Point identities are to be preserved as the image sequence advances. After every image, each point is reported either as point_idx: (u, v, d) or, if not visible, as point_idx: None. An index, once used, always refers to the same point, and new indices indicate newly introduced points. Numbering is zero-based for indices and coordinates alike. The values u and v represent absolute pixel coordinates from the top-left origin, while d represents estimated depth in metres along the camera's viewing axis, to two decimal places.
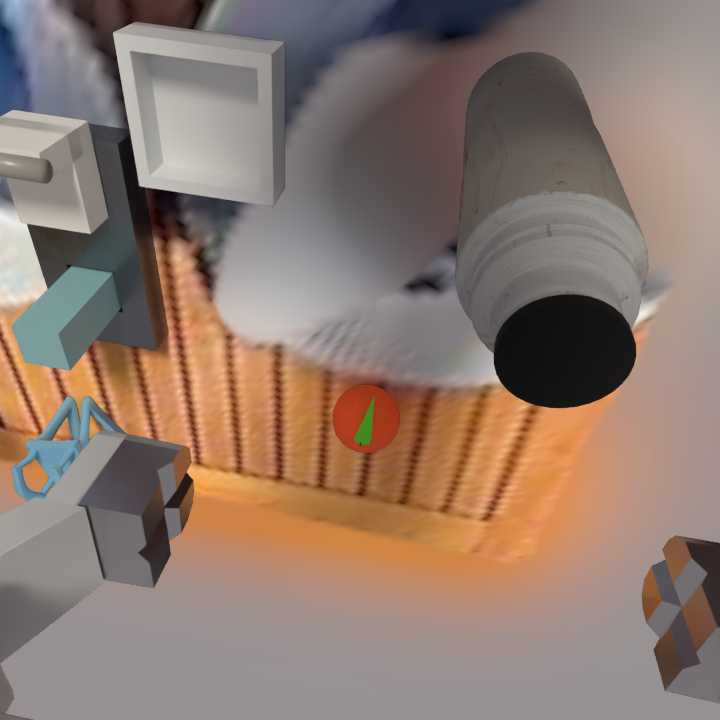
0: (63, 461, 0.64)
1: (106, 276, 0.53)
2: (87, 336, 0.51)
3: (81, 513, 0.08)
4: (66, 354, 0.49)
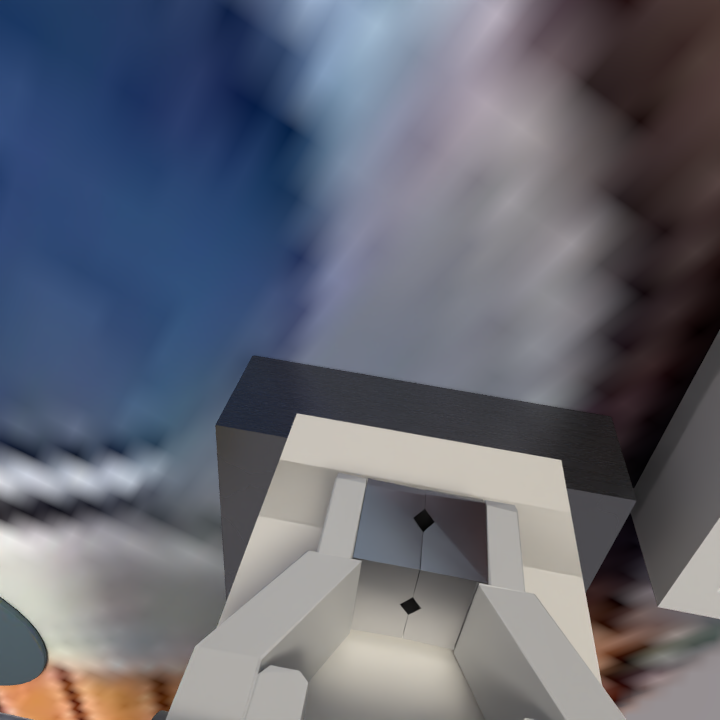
0: None
1: None
2: None
3: (356, 566, 0.08)
4: None
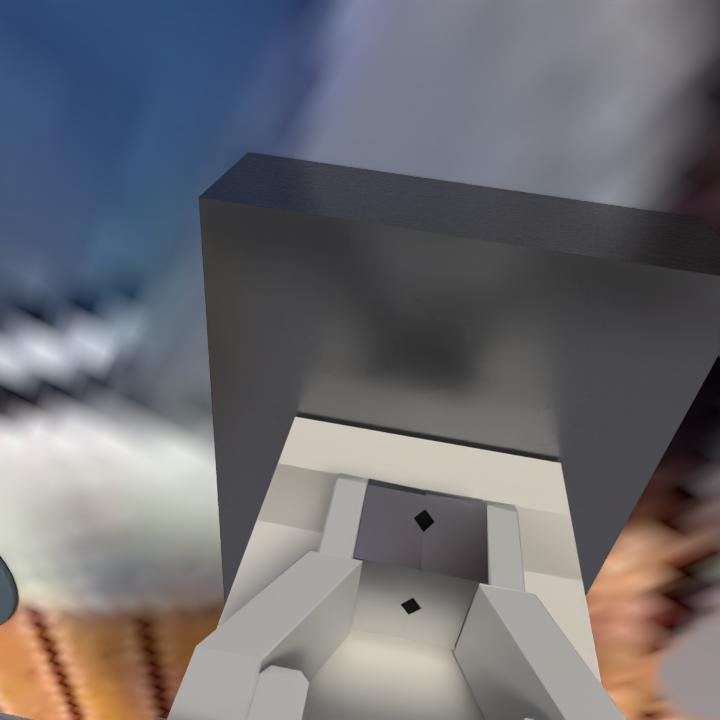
0: None
1: None
2: None
3: (357, 566, 0.08)
4: None
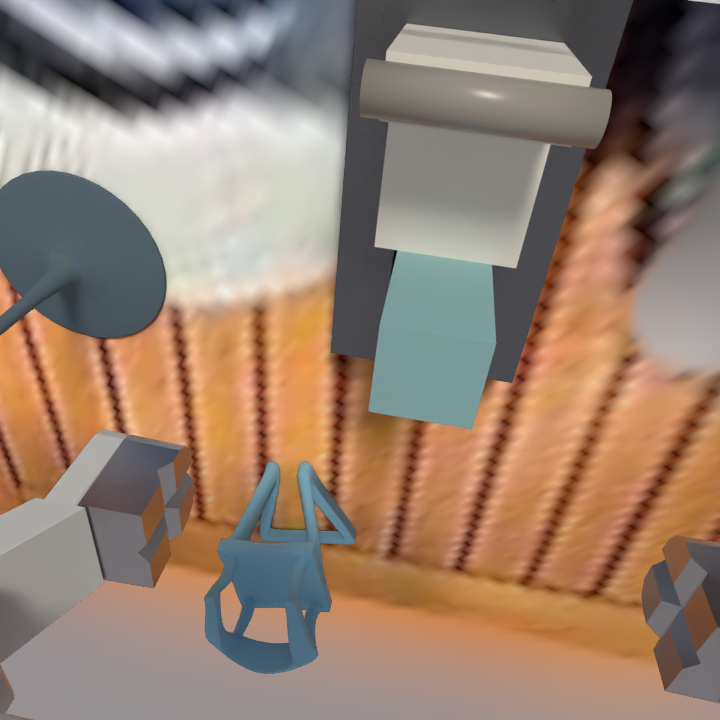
0: (298, 583, 0.36)
1: None
2: None
3: (81, 513, 0.08)
4: (481, 392, 0.21)
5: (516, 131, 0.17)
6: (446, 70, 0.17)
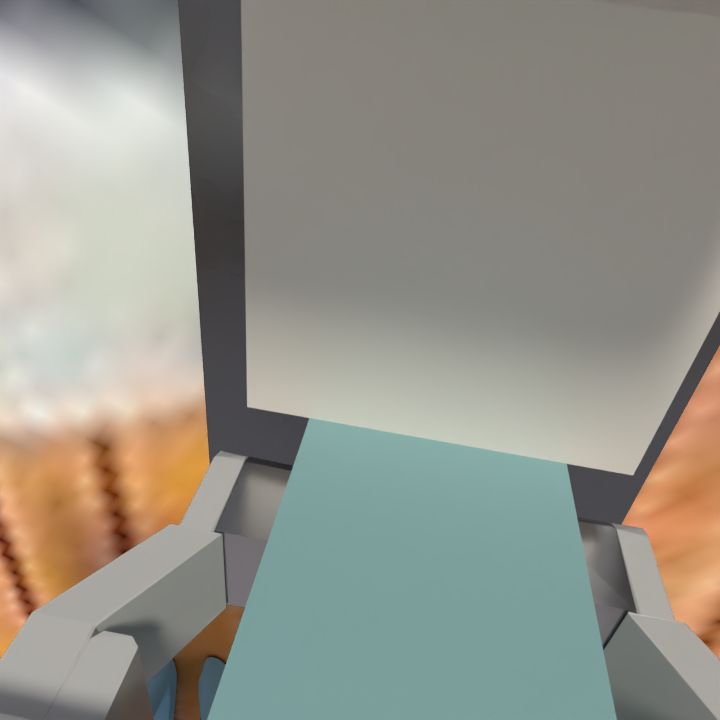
0: None
1: None
2: None
3: (218, 539, 0.08)
4: None
5: None
6: None
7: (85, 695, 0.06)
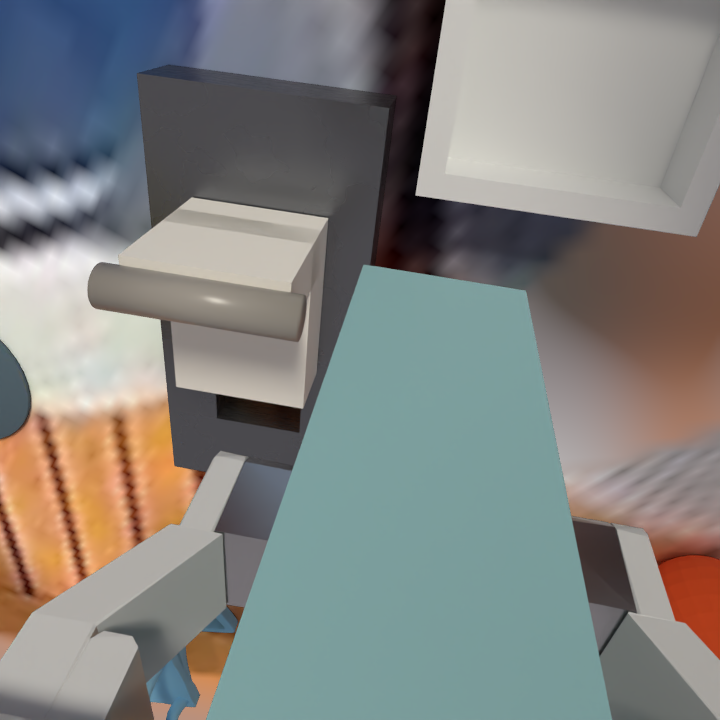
0: (151, 684, 0.37)
1: (527, 367, 0.11)
2: None
3: (218, 539, 0.08)
4: None
5: (226, 328, 0.19)
6: (163, 276, 0.19)
7: (85, 695, 0.06)
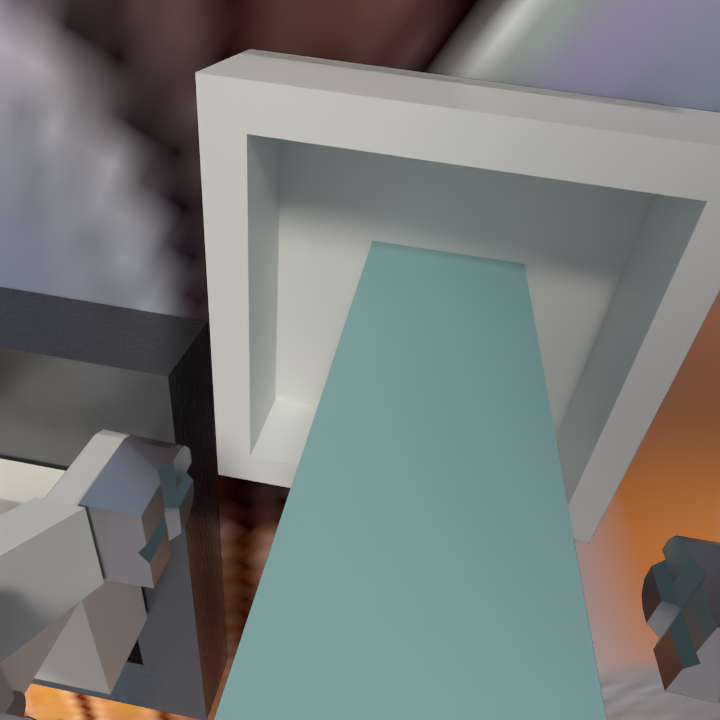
0: None
1: (525, 332, 0.12)
2: None
3: (81, 513, 0.08)
4: None
5: None
6: None
7: None
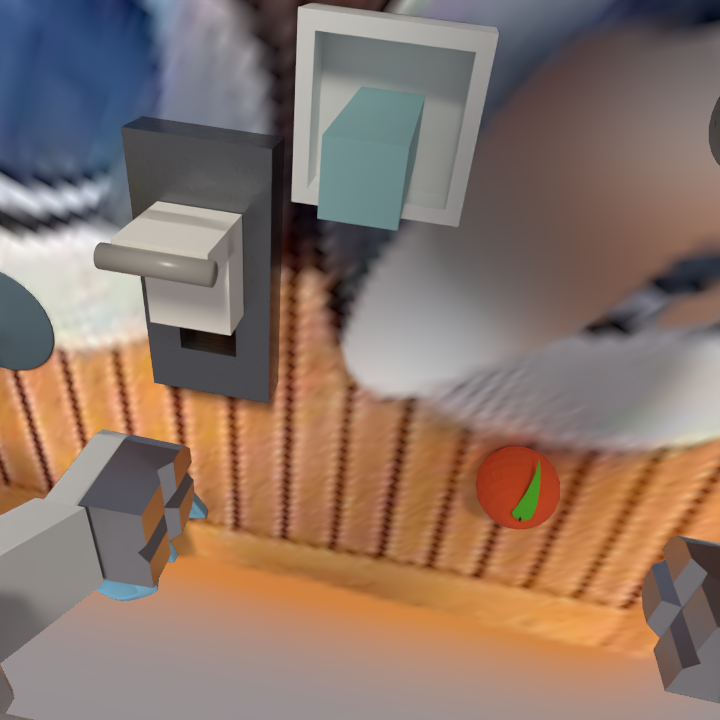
0: None
1: (417, 106, 0.33)
2: (406, 186, 0.31)
3: (81, 513, 0.08)
4: (402, 196, 0.28)
5: (171, 279, 0.35)
6: (135, 250, 0.35)
7: None
